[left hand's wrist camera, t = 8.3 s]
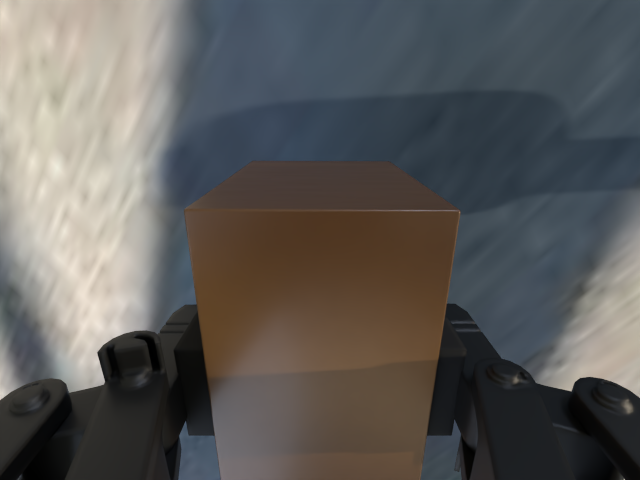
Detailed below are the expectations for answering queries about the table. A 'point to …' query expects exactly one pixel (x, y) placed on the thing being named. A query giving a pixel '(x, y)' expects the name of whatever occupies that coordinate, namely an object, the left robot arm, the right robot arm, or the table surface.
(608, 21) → the table surface
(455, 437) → the table surface
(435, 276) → the post
